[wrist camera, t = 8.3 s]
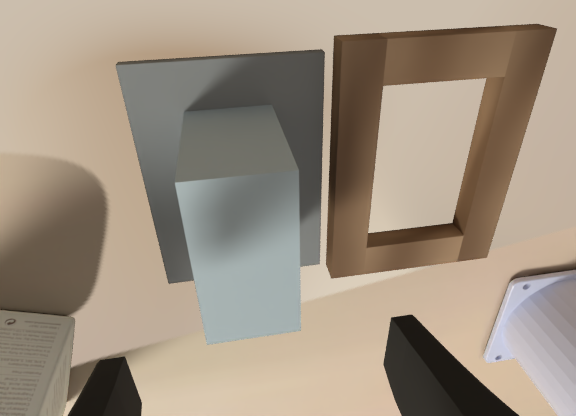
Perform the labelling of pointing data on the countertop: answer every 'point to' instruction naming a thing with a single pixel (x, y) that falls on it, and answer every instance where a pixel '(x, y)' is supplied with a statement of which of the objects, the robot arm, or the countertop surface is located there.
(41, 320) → the small box
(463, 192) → the walnut frame
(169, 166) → the rubber mat
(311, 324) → the countertop surface
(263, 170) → the painted block
